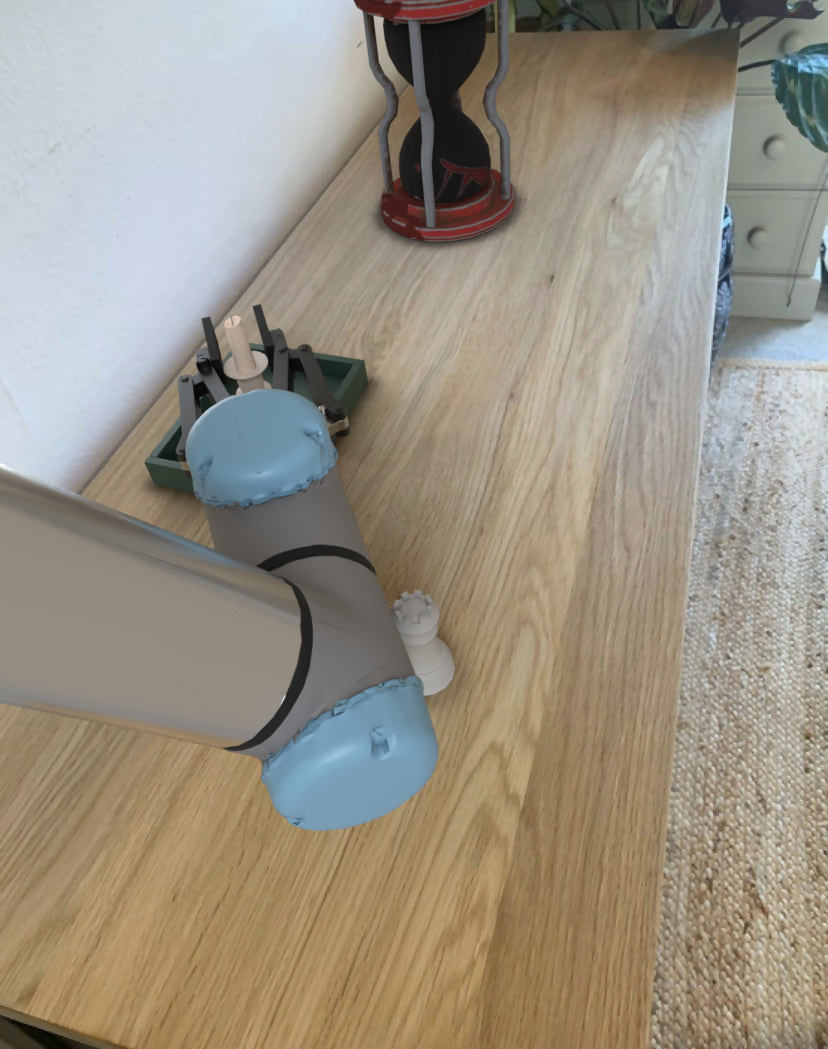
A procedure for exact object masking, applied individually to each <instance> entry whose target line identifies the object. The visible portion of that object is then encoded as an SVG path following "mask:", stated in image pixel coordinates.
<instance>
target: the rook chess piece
mask: <svg viewBox="0 0 828 1049" xmlns="http://www.w3.org/2000/svg"><path fill="white" fill-rule="evenodd" d="M399 596H400V598H399V599H395V600H394V602H393V604H392V606H391V607H390V611H391V613H392V616H393V618H394V621H395V623H396V626H397V628H398V631H399V633H400V636H401V638H402V641H403V643H404V646H405V649H406V651H407V654H408V656H409V659H410V661H411V664H412V666H413V669H414V671H415V674H416V676H417V677H420V678H421V680H422V682H423V685H424V691H423V694H424V697H426V696H433V695H436V694H438V693H439V692H441V691H443V690H444V689H446V688H447V687H448V685H449V684H450V682H451V681H452V680H453V678H454V675H455V670H456V667H455V661H454V658H453V653H452V651H451V649H450V647H449V646H448V645H447V644H446V642H445V641H444V640H443V639H441V638H440V637H439V636H438V634H437V633H438V629H439V625H438V622H439V619H440V615H441V612H440V606H439V604H437V602H436V600H434V599H433V598H432V597H431V596H430V595H429V594H428V593H427V594H423V590H422V589H421V590H419V589H414V590H413V593H412V594H409V593H408V590H406V591H404V592H402V593H400V594H399Z"/></svg>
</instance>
